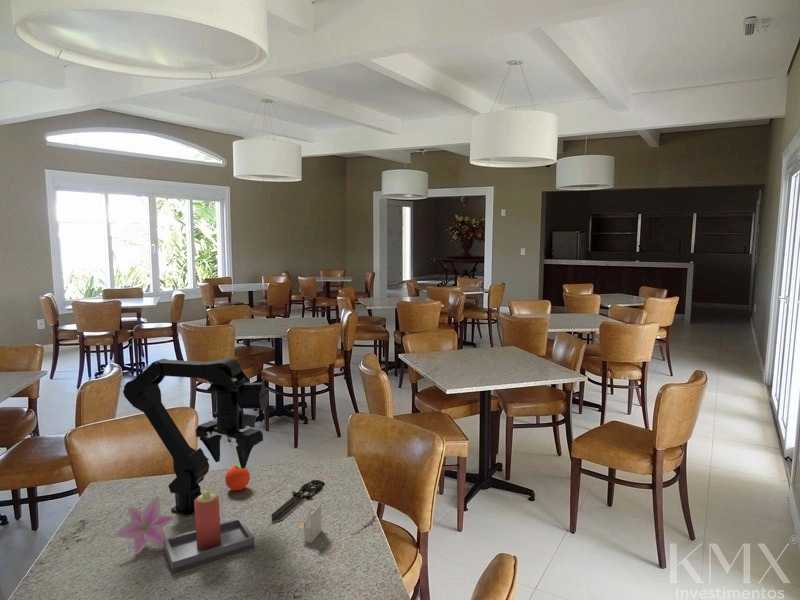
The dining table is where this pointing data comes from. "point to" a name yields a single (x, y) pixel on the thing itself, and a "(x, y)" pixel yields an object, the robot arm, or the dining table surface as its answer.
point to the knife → (296, 503)
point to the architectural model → (312, 524)
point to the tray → (188, 555)
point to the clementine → (237, 478)
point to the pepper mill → (207, 521)
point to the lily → (145, 526)
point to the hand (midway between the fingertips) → (230, 464)
